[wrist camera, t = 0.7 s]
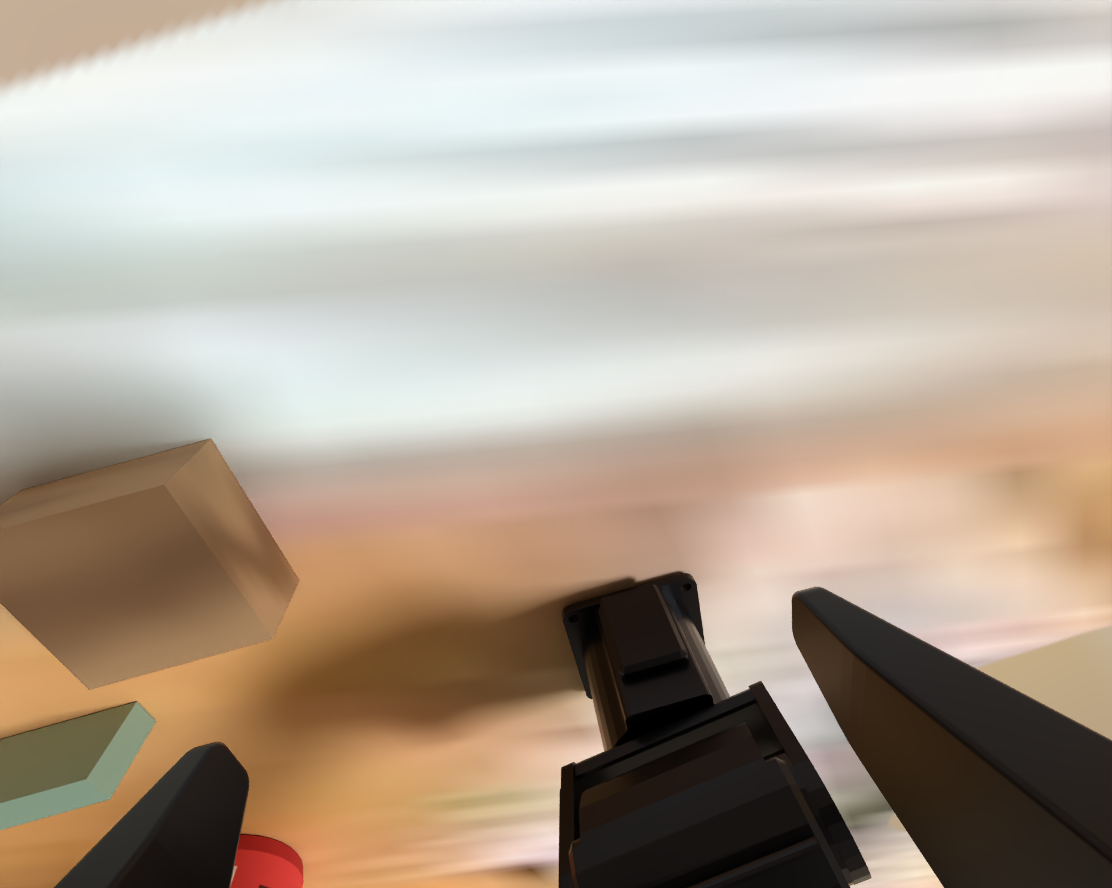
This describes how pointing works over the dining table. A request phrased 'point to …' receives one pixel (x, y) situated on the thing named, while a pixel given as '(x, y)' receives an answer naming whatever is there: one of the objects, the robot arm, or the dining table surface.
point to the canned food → (266, 864)
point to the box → (69, 763)
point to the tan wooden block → (142, 565)
